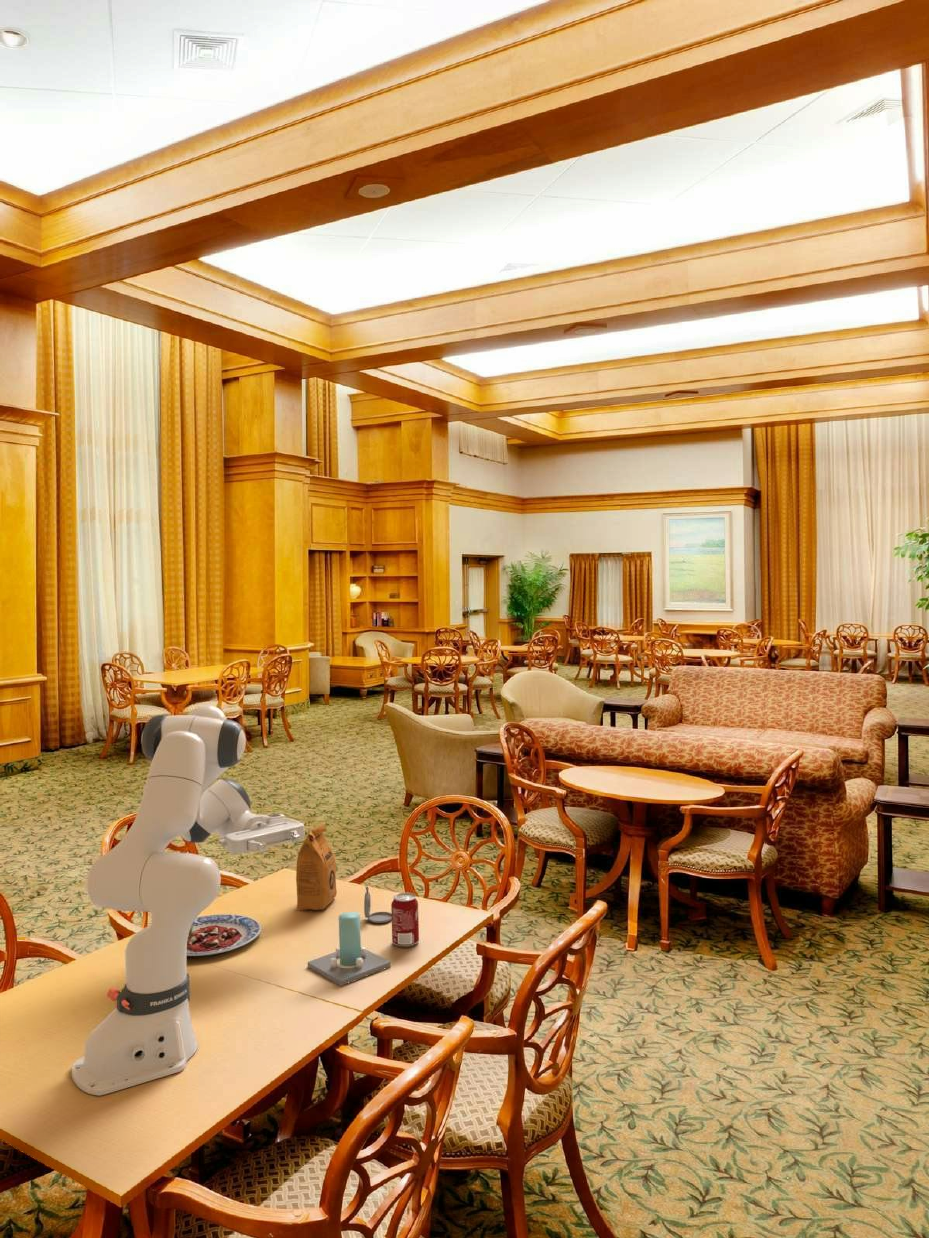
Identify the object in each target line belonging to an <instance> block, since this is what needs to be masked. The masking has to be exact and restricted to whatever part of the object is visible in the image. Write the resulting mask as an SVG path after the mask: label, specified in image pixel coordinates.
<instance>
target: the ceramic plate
mask: <svg viewBox="0 0 929 1238" xmlns="http://www.w3.org/2000/svg"><path fill="white" fill-rule="evenodd" d="M261 930H262V926H261V924H260V922H259V921H258V920H256V919H254V918H253V917H249V916H246V915H241V914H232V913H231V914H229V913H224V914H210V915H203V916H197V918H196V919H195V920H194V922H193V924H192V926H191V928H190V931H189V934H188V940H187V957H200V956H211V955H217V954H221V953H225V952H226V953H227V952H230V951H233V950H236V949H238V948H241V947H243V946H246V945H247V944H249V943H250V942H253V940H255V939H256V938H257V937H258V936H259V935H260V933H261Z"/></svg>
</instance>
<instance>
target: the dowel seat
mask: <svg viewBox="0 0 929 1238" xmlns="http://www.w3.org/2000/svg"><path fill="white" fill-rule="evenodd" d="M388 967H389V968H391V961H390V960H388V959H386V958H383V957H382V956H379V955H378V954H376V953H374V952H373V951H372V952H371V951H369V949H368V950H367V947H366V946H361V958H356V965H355V966H343V965H341V964H340V947H335V951H334V952H332V953H328V954H326V955H322V956H320V957H318V958H314V959H312V960H310V961H309V960H308V961H307V968H309V969H310V968H311V970H312V971H314V972H316V973H317V974H319V975H321V976H322V975H323V977H324V978H326V979H328V980H329V979H330V980H329V981H331V982H333V983H334V982H336V983H337V984H336V983H335V984H336V985H338V986H340V985H341V986H340V987H343V986H345V985H344V984H346V983H348V982H351V983H353V982H355V981H354V980H356V979H359V980H361V979H363V978H362V977H364V976H366V975H369V976H371V975H373V974H372V973H374V972H376V973H378V971H379V972H381V971H383V970H382V969H384V968H386V969H388ZM380 970H381V971H380ZM384 970H385V969H384ZM370 974H371V975H370ZM374 974H375V973H374ZM366 977H367V976H366ZM360 978H361V979H360ZM364 978H365V977H364ZM352 981H353V982H352ZM356 981H357V980H356ZM348 984H349V983H348ZM342 985H343V986H342ZM346 985H347V984H346Z"/></svg>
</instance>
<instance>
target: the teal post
mask: <svg viewBox="0 0 929 1238" xmlns="http://www.w3.org/2000/svg"><path fill="white" fill-rule="evenodd" d="M338 935H339V937H338V940H339V947H340V964H341V965H343V966H355V965H356V958H361V947H362V946H361V945H362V944H361V943H362V941H361V937H362V936H361V935H362V934H361V914H360V913H359V912H355V911H348V912H347V911H346V912H342V913H341V914H339V915H338Z"/></svg>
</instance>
